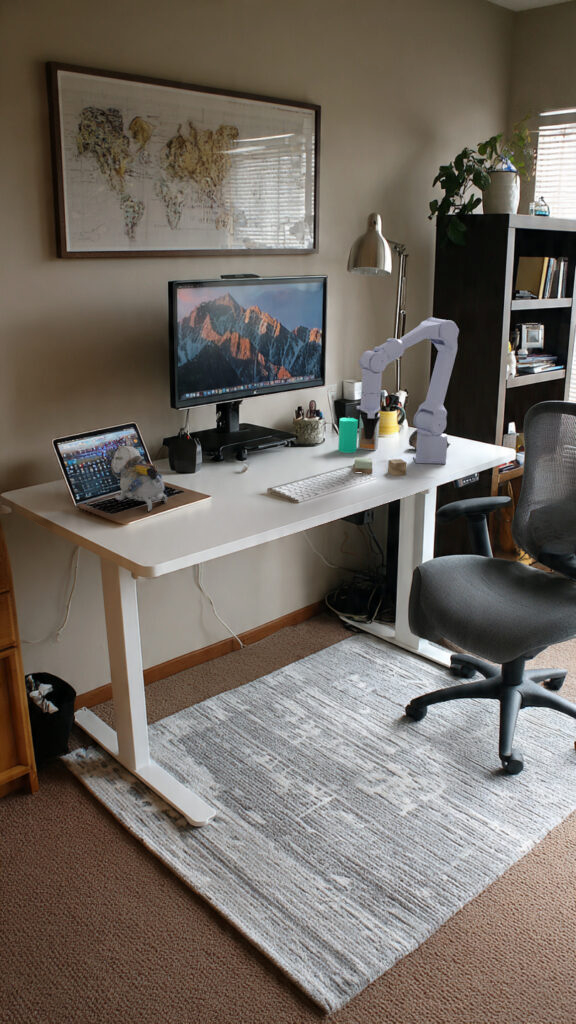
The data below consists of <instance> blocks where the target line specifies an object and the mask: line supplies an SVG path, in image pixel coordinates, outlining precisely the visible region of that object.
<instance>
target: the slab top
mask: <svg viewBox="0 0 576 1024" xmlns="http://www.w3.org/2000/svg"><path fill="white" fill-rule="evenodd" d="M353 464H355V468H365V469H373V460H372V457H354V462H353Z"/></svg>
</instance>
